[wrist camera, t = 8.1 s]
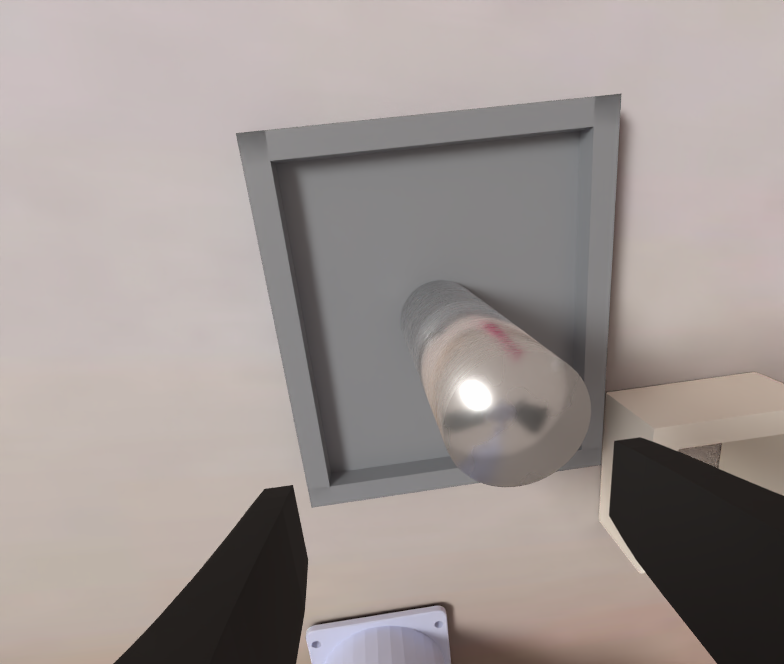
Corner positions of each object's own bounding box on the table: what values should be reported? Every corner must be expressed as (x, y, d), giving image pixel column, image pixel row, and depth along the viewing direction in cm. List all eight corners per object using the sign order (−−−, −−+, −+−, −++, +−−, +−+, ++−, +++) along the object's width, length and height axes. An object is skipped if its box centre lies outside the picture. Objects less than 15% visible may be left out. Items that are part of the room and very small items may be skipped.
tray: (583, 446, 21) (601, 464, 20) (314, 485, 21) (311, 507, 19) (597, 104, 17) (621, 93, 15) (247, 140, 16) (236, 133, 14)
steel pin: (480, 350, 19) (589, 474, 10) (405, 361, 18) (449, 497, 10) (476, 274, 18) (593, 341, 9) (395, 285, 17) (436, 364, 9)
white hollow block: (732, 499, 23) (795, 548, 20) (598, 520, 23) (640, 573, 20) (755, 371, 21) (831, 403, 18) (605, 392, 21) (654, 428, 17)
